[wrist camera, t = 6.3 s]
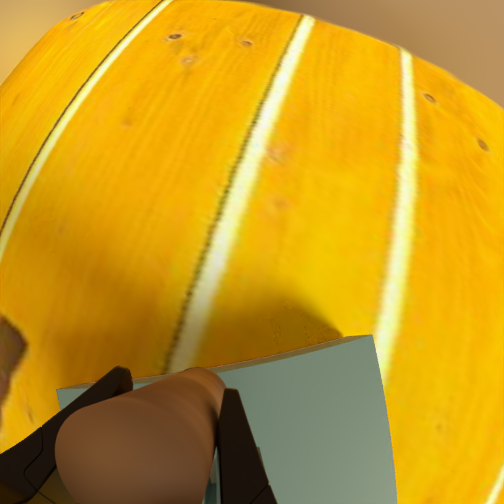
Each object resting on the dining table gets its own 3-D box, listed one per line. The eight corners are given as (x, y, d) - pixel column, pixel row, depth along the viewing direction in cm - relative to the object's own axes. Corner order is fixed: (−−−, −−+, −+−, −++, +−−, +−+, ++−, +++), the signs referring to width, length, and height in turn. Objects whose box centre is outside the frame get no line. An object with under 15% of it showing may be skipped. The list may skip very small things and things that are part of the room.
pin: (177, 426, 14) (84, 531, 4) (164, 372, 15) (38, 405, 4) (234, 417, 14) (222, 534, 4) (220, 362, 15) (179, 394, 5)
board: (137, 528, 17) (119, 557, 12) (89, 382, 20) (56, 389, 15) (372, 489, 18) (398, 514, 13) (346, 336, 22) (372, 334, 17)
